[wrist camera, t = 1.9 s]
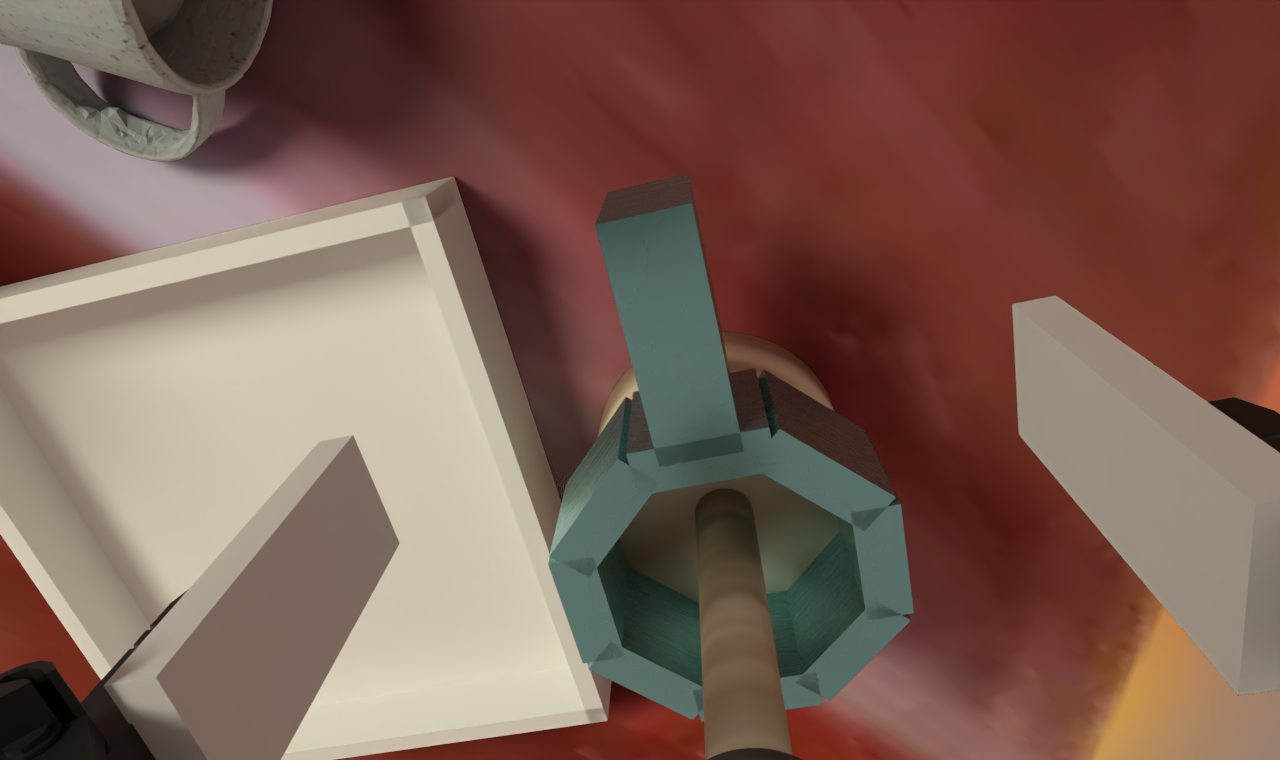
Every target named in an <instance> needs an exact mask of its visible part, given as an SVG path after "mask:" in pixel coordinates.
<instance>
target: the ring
mask: <svg viewBox="0 0 1280 760" xmlns="http://www.w3.org/2000/svg"><path fill="white" fill-rule="evenodd" d="M595 226H596V230H597V234H598V237H599V241H600V245H601V249H602V253H603V256H604V260H605V264H606V268H607V272H608V275H609V279H610V283H611V287H612V291H613V294H614V298H615V302H616V306H617V310H618V313H619V317H620V321H621V325H622V329H623V332H624V336H625V340H626V344H627V348H628V351H629V355H630V359H631V363H632V367H633V370H634V374H635V378H636V382H637V386H638V389H639V391H635V392H633V396H632V400H631V399H629V398H628V397H625V399H624V400H623V402H622V403H621V404H620V406H619V407H618V409H617V410H616V412H615V413H614V415H613V416H612V418H611V419H610V421H609V422H608V424H607V425H606V426H605V428H604V429H603V431H602V432H601V434H600V435H599V437H598V438H597V440H596V441H595V443H594V444H593V445H592V447H591V448H590V450H589V451H588V453H587V454H586V456H585V457H584V459H583V460H582V462H581V463H580V465H579V466H578V467H577V469H576V470H575V472H574V473H573V475H572V476H571V478H570V479H569V481H568V482H567V484H566V486H565V491H564V495H563V499H562V503H561V508H560V512H559V516H558V521H557V525H556V529H555V533H554V538H553V542H552V546H551V551H550V555H549V557H550V558H549V562H548V566H549V569H550V572H551V574H552V577H553V580H554V583H555V586H556V589H557V591H558V594H559V597H560V600H561V603H562V606H563V609H564V611H565V614H566V617H567V620H568V623H569V626H570V628H571V631H572V634H573V637H574V640H575V643H576V646H577V648H578V651H579V654H580V657H581V660H582V663H583V664H584V663H589V667H588V669H589V670H591V671H593V672H595V673H597V674H599V675H601V676H603V677H605V678H607V679H609V680H612V681H614V682H616V683H618V684H620V685H622V686H624V687H626V688H628V689H630V690H632V691H634V692H636V693H638V694H640V695H642V696H644V697H646V698H649V699H651V700H653V701H655V702H657V703H659V704H661V705H663V706H665V707H667V708H669V709H671V710H673V711H675V712H677V713H679V714H681V715H683V716H686V717H688V718H690V719H692V720H693V719H694V718H695V717H696V716H697V715H698V714H699V715H700V719H701V721H704V704H703V681H702V658H701V635H700V611H699V603H698V602H696V601H694V600H692V599H690V598H688V597H686V596H684V595H682V594H680V593H679V592H677V591H675V590H673V589H671V588H669V587H667V586H665V585H663V584H661V583H659V582H657V581H656V580H654V579H652V578H650V577H648V576H646V575H644V574H642V573H640V572H638V571H636V570H634V569H632V568H631V567H629V566H628V562H627V559H626V556H625V552H624V549H623V546H622V542H621V539H620V536H621V535H622V533H623V532H624V531H625V529H626V528H627V527H628V525H629V524H630V523H631V521H632V520H633V519H634V517H635V516H636V515H637V513H638V512H639V511H640V509H641V508H642V507H643V505H644V504H645V503H646V501H647V500H648V499H649V497H650V496H651V495H652V493H657V492H663V491H668V490H674V489H679V488H685V487H690V486H696V485H701V484H707V483H713V482H718V481H724V480H729V479H735V478H740V477H746V476H751V475H757V474H764V475H766V476H768V477H769V478H771V479H773V480H775V481H776V482H778V483H780V484H782V485H783V486H785V487H787V488H789V489H791V490H792V491H794V492H796V493H798V494H799V495H801V496H803V497H805V498H806V499H808V500H810V501H812V502H813V503H815V504H817V505H819V506H820V507H822V508H824V509H826V510H827V511H829V512H831V513H833V514H834V515H836V516H838V522H839V528H840V532H839V533H838V534H837V535H836V536H835V537H834V538H833V539H832V540H831V542H830V543H829V544H828V545H827V546H826V547H825V548H824V549H823V551H822V552H821V553H820V554H819V555H818V556H817V557H816V558H815V559H814V561H813V562H812V563H811V564H810V565H809V566H808V567H807V568H806V570H805V571H804V572H803V573H802V574H801V575H800V576H799V577H798V578H797V580H796V581H795V582H794V583H793V584H792V585H791V586H790V587H789V589H788V590H787V591H783V592H776V593H770V594H767V600H768V606H769V612H770V619H771V625H772V631H773V637H774V643H775V650H776V656H777V662H778V668H779V674H780V680H781V687H782V693H783V699H784V705H785V710H786V709H793V708H800V707H807V706H814V705H821V704H822V700H821V696H822V697H824V698H826V699H828V700H831V699H832V698H833V697H834V696H835V695H836V694H837V693H838V692H839V691H840V690H841V689H842V688H844V687H845V686H846V685H847V684H848V683H849V682H850V681H851V680H852V679H853V678H854V677H855V676H856V675H857V674H858V673H859V672H860V671H861V670H862V669H863V668H864V667H865V666H866V665H867V664H868V663H869V662H870V661H871V660H872V659H873V658H874V657H875V656H876V655H877V654H878V653H879V652H880V651H881V650H882V649H883V648H884V647H885V646H886V645H887V644H888V643H889V642H890V641H891V640H892V639H893V638H894V637H895V636H896V635H897V634H898V633H899V632H900V631H901V630H902V629H903V628H904V627H905V626H906V625H907V624H908V623H909V622H910V621H911V619H910V616H909V614H912V613H914V610H913V601H912V593H911V585H910V576H909V568H908V559H907V551H906V543H905V534H904V526H903V517H902V509H901V503H900V501H899V499H898V497H897V495H896V493H895V491H894V488H893V486H892V484H891V482H890V480H889V478H888V476H887V473H886V471H885V469H884V467H883V465H882V463H881V461H880V459H879V456H878V454H877V452H876V450H875V448H874V446H873V444H872V442H871V439H870V437H869V436H867V434H866V432H865V430H864V429H863V428H861V427H860V426H858V425H856V424H855V423H853V422H851V421H850V420H848V419H846V418H845V417H843V416H841V415H840V414H838V413H836V412H835V411H833V410H831V409H830V408H828V407H826V406H825V405H823V404H821V403H820V402H818V401H816V400H815V399H813V398H811V397H810V396H808V395H806V394H805V393H803V392H801V391H800V390H798V389H796V388H795V387H793V386H791V385H790V384H788V383H786V382H785V381H783V380H781V379H780V378H778V377H776V376H775V375H773V374H771V373H770V372H768V371H766V370H765V369H764V370H763V371H762V373H761V374H760V375H759V377H757V373H756V369H755V368H751V369H746V370H741V371H736V372H731V373H730V368H729V363H728V359H727V354H726V349H725V344H724V339H723V335H722V330H721V325H720V320H719V315H718V311H717V306H716V301H715V296H714V291H713V287H712V282H711V277H710V272H709V267H708V263H707V258H706V253H705V248H704V243H703V239H702V234H701V229H700V224H699V219H698V215H697V210H696V205H695V200H694V195H693V191H692V186H691V181H690V176H689V173H688V174H684V175H680V176H675V177H671V178H667V179H663V180H658V181H654V182H650V183H646V184H641V185H637V186H633V187H628V188H624V189H620V190H616V191H611V192H608V193H607V196H606V198H605V201H604V204H603V206H602V209H601V211H600V214H599V217H598V219H597V222H596V224H595Z"/></svg>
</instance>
